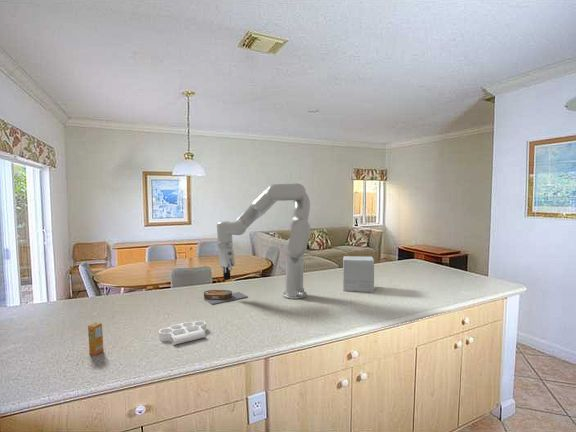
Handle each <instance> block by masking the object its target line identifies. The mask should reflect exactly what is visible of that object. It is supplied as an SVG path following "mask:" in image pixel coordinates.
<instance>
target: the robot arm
mask: <svg viewBox="0 0 576 432" xmlns="http://www.w3.org/2000/svg"><path fill="white" fill-rule="evenodd" d="M278 201H279V202H282V201H285V202H286V201H293V211H292V212H293V213H292V216H291V221H290V223H289V230H290V234H289V235H290V236H289V238H288V239H287V240H286V242H285V245H284V254H285V291H284V292H283V293H282V296H283V298H287V299H292V300H298V299H303V298H305V297H307V292H306V291H305V288H304V255H305V253H306V251H307V249H308V244H309V243H308V242H309V239H310V234H311V233H310V232H311V225H310V223H309V216H310V210H311V202H310V201H311V200H310V198H309V195H308V194H307V191H306V188H305V187H304V185H303V184H301V183H273V184H270V185H269V186H268V187H267V188H265V190H264V191H263V192H262V193H260V195H259V196H258V197H256V198H255V200H254V201H253V202H252V203H250V205H249V206H248V208H247V209H246V210H245V211H243V213H241V215H240V216H239V217H238V218H237V219H236V220H235V221H229V220H228V221H227V220H224V221H218V222H217V223H216V234H217V235H216V236H217V248H218V265H220V267H221V268H222V272H223V273H222V274H223V280H224V281H229V280H231V270H232V269H233V267H235V254H234V248H233V236H242V235H244V233H245V232H246V231H247V230H248V228H249V227H250V226H251V225H253V223H255V221H256V220H258V219H259V218H261V217H262V216H263V215H264V214H266V213H267V211H269V209H271V208H272V207H273V206H274V204H276V203H277V202H278Z"/></svg>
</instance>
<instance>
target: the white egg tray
mask: <svg viewBox="0 0 576 432" xmlns="http://www.w3.org/2000/svg"><path fill="white" fill-rule="evenodd" d="M206 332H207V322H206V321H205V320H195V321H185V322H182V323H175V324H172V325H170V326H168V327H164V328H160V329H159V331H158V341H160V342H170V343H171V345H173V346H176V345H179V344H183V343H184V344H185V343H187V342H192V341H196V340H199V339H204V338H206Z"/></svg>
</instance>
